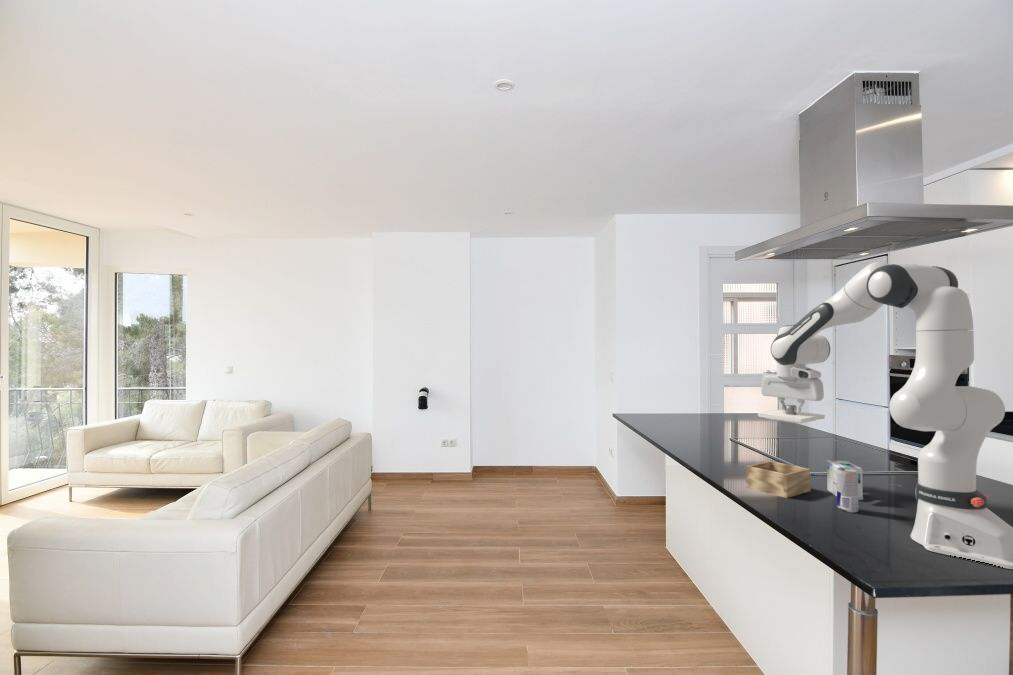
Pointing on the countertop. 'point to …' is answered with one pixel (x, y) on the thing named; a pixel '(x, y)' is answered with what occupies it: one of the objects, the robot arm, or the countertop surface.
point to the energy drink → (847, 489)
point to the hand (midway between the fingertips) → (790, 411)
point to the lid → (791, 415)
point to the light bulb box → (832, 476)
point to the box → (778, 479)
